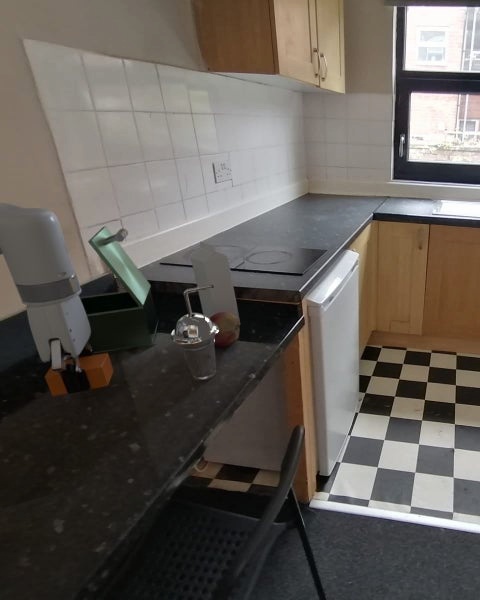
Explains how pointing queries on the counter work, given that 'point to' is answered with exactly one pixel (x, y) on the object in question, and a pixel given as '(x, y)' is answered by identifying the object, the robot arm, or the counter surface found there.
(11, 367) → the counter surface
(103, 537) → the counter surface
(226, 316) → the fruit
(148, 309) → the dark green storage bin
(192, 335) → the cup with straw
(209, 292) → the milk
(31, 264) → the robot arm
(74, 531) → the counter surface
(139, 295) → the bin lid
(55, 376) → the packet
